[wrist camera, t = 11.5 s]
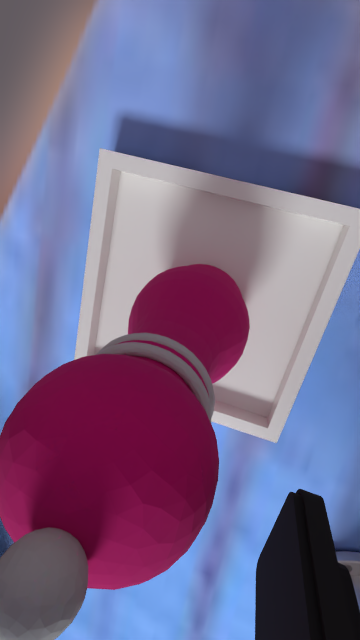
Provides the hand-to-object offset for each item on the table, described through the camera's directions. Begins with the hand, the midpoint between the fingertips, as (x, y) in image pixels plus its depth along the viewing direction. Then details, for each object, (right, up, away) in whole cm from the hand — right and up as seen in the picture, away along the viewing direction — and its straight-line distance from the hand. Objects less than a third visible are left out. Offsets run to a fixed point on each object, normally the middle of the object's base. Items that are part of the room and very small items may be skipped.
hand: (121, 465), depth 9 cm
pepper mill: (+3, +5, +15) cm, 16 cm away
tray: (+3, +6, +15) cm, 16 cm away
